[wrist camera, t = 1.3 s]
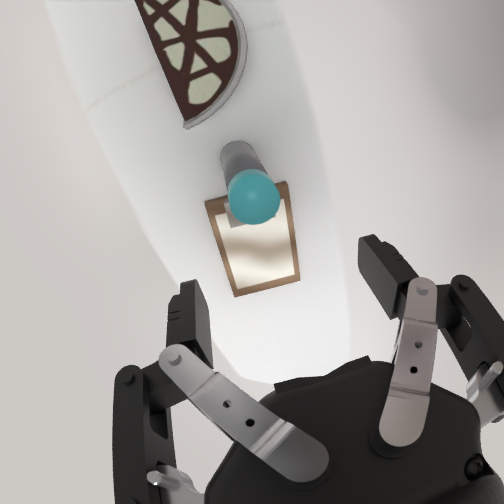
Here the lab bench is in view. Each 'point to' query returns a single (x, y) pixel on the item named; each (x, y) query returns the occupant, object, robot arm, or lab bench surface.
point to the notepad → (256, 246)
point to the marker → (248, 185)
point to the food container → (197, 51)
